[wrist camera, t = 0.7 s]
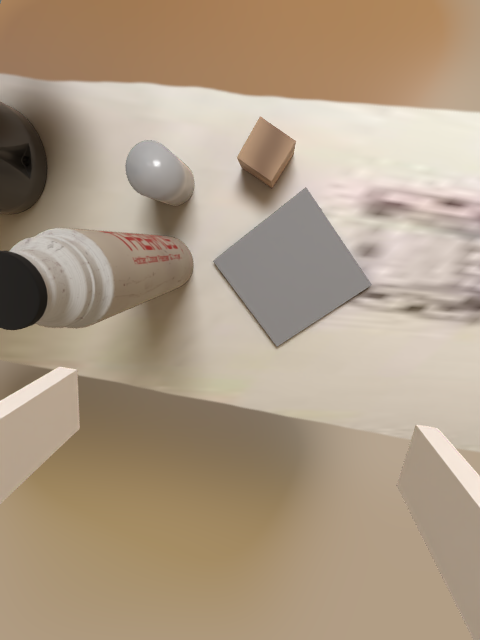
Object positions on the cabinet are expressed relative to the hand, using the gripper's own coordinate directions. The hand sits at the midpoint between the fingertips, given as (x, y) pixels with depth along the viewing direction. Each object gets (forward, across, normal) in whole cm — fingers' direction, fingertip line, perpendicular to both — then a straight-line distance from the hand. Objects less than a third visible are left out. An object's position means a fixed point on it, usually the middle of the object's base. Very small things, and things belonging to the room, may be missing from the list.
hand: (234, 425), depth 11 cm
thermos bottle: (+34, -15, +2) cm, 37 cm away
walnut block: (+34, -2, +17) cm, 38 cm away
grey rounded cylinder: (+34, -15, +13) cm, 39 cm away
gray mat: (+34, +3, +3) cm, 34 cm away
